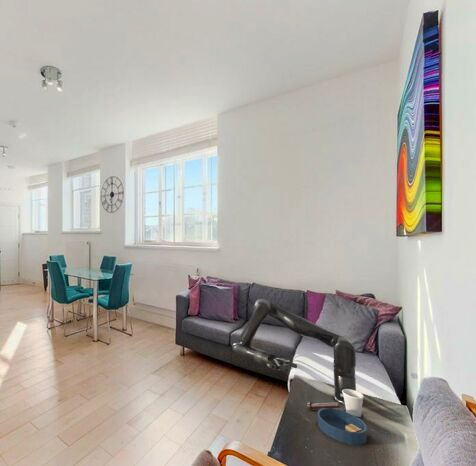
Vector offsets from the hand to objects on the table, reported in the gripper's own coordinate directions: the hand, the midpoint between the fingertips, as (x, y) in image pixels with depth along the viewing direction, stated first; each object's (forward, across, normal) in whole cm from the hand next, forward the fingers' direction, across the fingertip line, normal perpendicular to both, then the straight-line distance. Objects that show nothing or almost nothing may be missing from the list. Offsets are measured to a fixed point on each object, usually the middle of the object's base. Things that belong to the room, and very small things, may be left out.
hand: (292, 368), depth 149 cm
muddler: (+8, 0, +16) cm, 18 cm away
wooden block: (+29, -5, +17) cm, 34 cm away
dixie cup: (+21, +15, +18) cm, 32 cm away
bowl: (+24, -5, +18) cm, 30 cm away
